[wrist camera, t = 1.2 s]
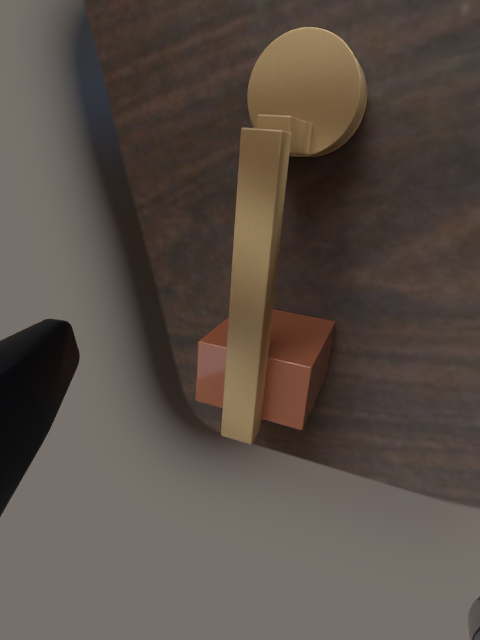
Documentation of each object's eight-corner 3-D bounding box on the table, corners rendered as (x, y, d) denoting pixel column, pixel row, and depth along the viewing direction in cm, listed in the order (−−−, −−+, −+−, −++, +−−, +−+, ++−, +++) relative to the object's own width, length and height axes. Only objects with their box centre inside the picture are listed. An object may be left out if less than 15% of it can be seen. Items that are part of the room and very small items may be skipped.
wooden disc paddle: (269, 41, 19) (200, -14, 13) (376, 41, 18) (354, -21, 12) (243, 361, 25) (186, 425, 19) (322, 379, 24) (288, 456, 18)
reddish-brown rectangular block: (327, 372, 23) (302, 431, 18) (240, 352, 25) (195, 400, 20) (335, 321, 22) (311, 367, 17) (244, 303, 24) (197, 341, 19)
